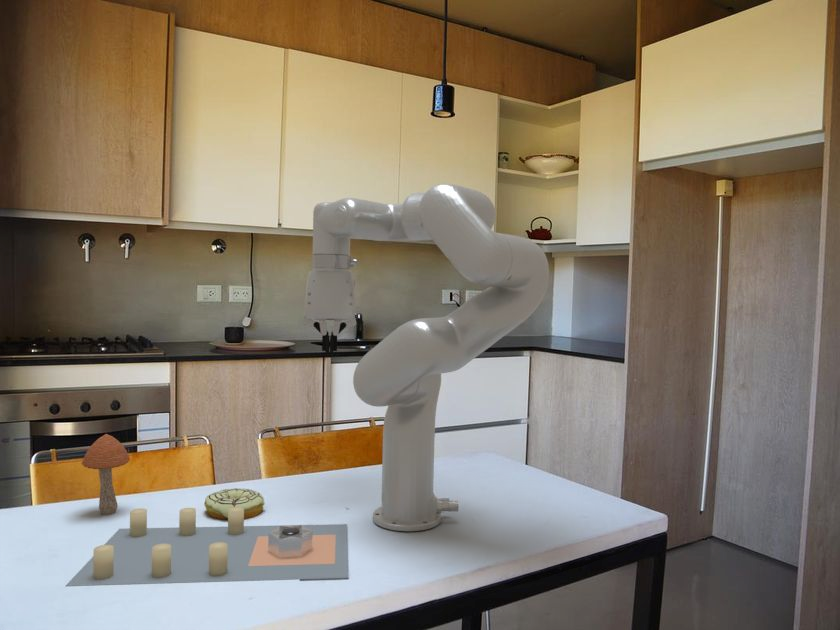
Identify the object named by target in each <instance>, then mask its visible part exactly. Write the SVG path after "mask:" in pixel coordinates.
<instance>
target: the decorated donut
mask: <svg viewBox="0 0 840 630" xmlns="http://www.w3.org/2000/svg"><path fill="white" fill-rule="evenodd" d="M203 504H204V508H205V510H206V512H207V514H208V515H209V516H210V517H212V518H214V519H219V520H228V509H230V508H233V507H242V508H244V520H246V519H251V518H255V517H257V516H258V515H259V514H260V513H261V512H262V511H263V508H264V506H265V504H266V503H265V498H264V496H263V495H262V494H261V493H259V492H257V490H252V489H249V488H241V487H240V488H238V487H236V488H234V487H233V488H225V489H224V488H223V489H221V490H219V491H216V492H212V493H210V494H208V495H206V497H205V500H204V503H203Z"/></svg>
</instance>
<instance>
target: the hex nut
mask: <svg viewBox="0 0 840 630" xmlns="http://www.w3.org/2000/svg"><path fill="white" fill-rule="evenodd" d="M303 525H304V524H291V525H289V524H287V525H286V526H279V527H277V528H276V529H274V530H272V531H271V532H269V533H268V552H270V553H271V554H273V555H274V556H276V557H277V558H279V559H280V558H298V557H303V556H304V555H305V554H307V553H308V552H309V551H311V550H312V533H313V531H312V530H310V529H308V528H306V527H305V526H303Z"/></svg>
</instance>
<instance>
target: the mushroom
mask: <svg viewBox="0 0 840 630" xmlns="http://www.w3.org/2000/svg"><path fill="white" fill-rule="evenodd" d="M130 460H131V458H130V456H129V453H128V451H127V449H126V448H125V446H124V445H123V444H122V443H121V442H120V441H119V440H118V439H117V438H115V437H114V436H113V435H111V434H110V435H109V434H107V433H105V434H104V435H102V436H100V437H98V438H97V439H96V440H95V441H94V442H93V443H92V444H91V445H90V447H89V448H88V449H87V451H86V453H85V455H84V457H83V459H82V461H81V465H82V466H83V467H84V468H88V469H90V470H91V469H92V470H98V475H99V484H100V485H99V486H100V489H99V490H100V491H99V499H98V500H99V502H98V510H99V512H100V514H101V515H104V516H109V515H114V514H115V513H116V512H117V510H118V509H117V508H118V502H117V497H116V493H115V490H114V486H113V475H112V474H113V473H112V472H113V471H112V470H113V469H115V468H118V467H122V466H125V465H126V464H127V463H129V462H130Z"/></svg>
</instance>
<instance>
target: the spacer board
mask: <svg viewBox="0 0 840 630" xmlns="http://www.w3.org/2000/svg"><path fill="white" fill-rule="evenodd" d="M147 519H148V509H146V508H135V509H132V510H130V512H129V528H118V530H117V531H116V532H114V534H113V535H112V536H111V537H110V538H109V539H108V540H107V541H106V542H105V544H102V545H99V546H96V547H94V548H93V556H92V557H91V558H90V559H89V560H88V561H87V562H86V564H85V565H83V567H82V568H81V569H79V571H77V573H76V574H75V575H74V576H73V577H72V578H71V579H70V580H69V581H68V582H67V584H66V585H65V587H85V586H87V587H92V586H93V587H94V586H119V585H120V586H122V585H123V586H125V585H129V586H130V585H157V584H158V585H160V584H162V585H163V584H164V585H165V584H188V583H189V584H193V583H222V582H223V583H224V582H225V583H226V582H249V581H250V582H254V581H255V582H256V581H257V582H258V581H259V582H260V581H262V582H264V581H288V580H289V581H291V580H294V581H295V580H299V581H323V580H326V581H327V580H329V581H330V580H348V579H349V552H348V551H349V548H348V547H349V544H348V543H349V542H348V524H347V523H342V524H341V523H335V524H332V523H331V524H302V525H303V526H305V527H306V528H308V529H310V530H312V531H313V533H312V550H311V551H309V552H308V553H307V554H305V555H304V556H303V557H298V558H280V559H279V558H277V557H276V556H274V555H273V554H271V553H270V552H268V533H269V532H271V531H272V530H274V529H276V528H277V527H279V526H286V525H285V524H284V525H278V524H277V525H244V523H245V519H244V508H242V507H233V508H230V509H228V519H227V526H196V525H197V524H196V522H197V520H196V519H197V509H196V508H195V507H185V508H181V509H180V510H179V519H178V520H179V522H178V523H179V527H148V526H147V525H148V524H147V523H148V520H147Z"/></svg>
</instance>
